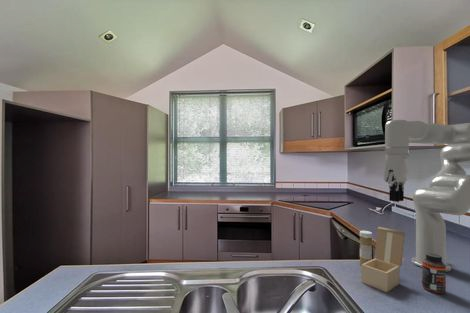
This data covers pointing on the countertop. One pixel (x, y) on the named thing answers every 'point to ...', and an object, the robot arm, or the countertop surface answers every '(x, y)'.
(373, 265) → the box
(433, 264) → the supplement bottle
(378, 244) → the lid
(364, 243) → the sprinkles bottle
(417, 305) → the countertop surface
